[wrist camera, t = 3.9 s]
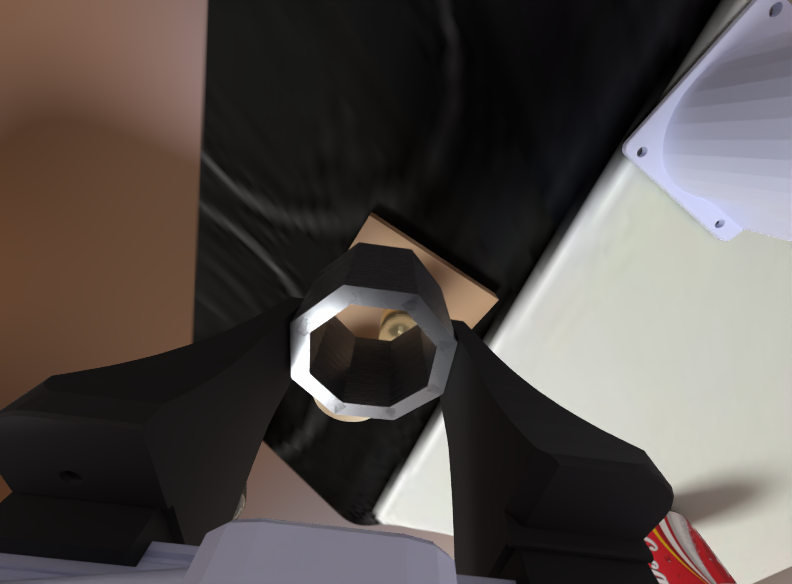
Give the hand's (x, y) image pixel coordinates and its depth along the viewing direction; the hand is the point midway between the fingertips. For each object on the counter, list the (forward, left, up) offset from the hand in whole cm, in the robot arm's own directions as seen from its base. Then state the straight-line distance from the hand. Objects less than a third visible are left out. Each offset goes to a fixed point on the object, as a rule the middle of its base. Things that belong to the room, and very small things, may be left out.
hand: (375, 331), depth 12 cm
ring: (0, 0, -2) cm, 2 cm away
